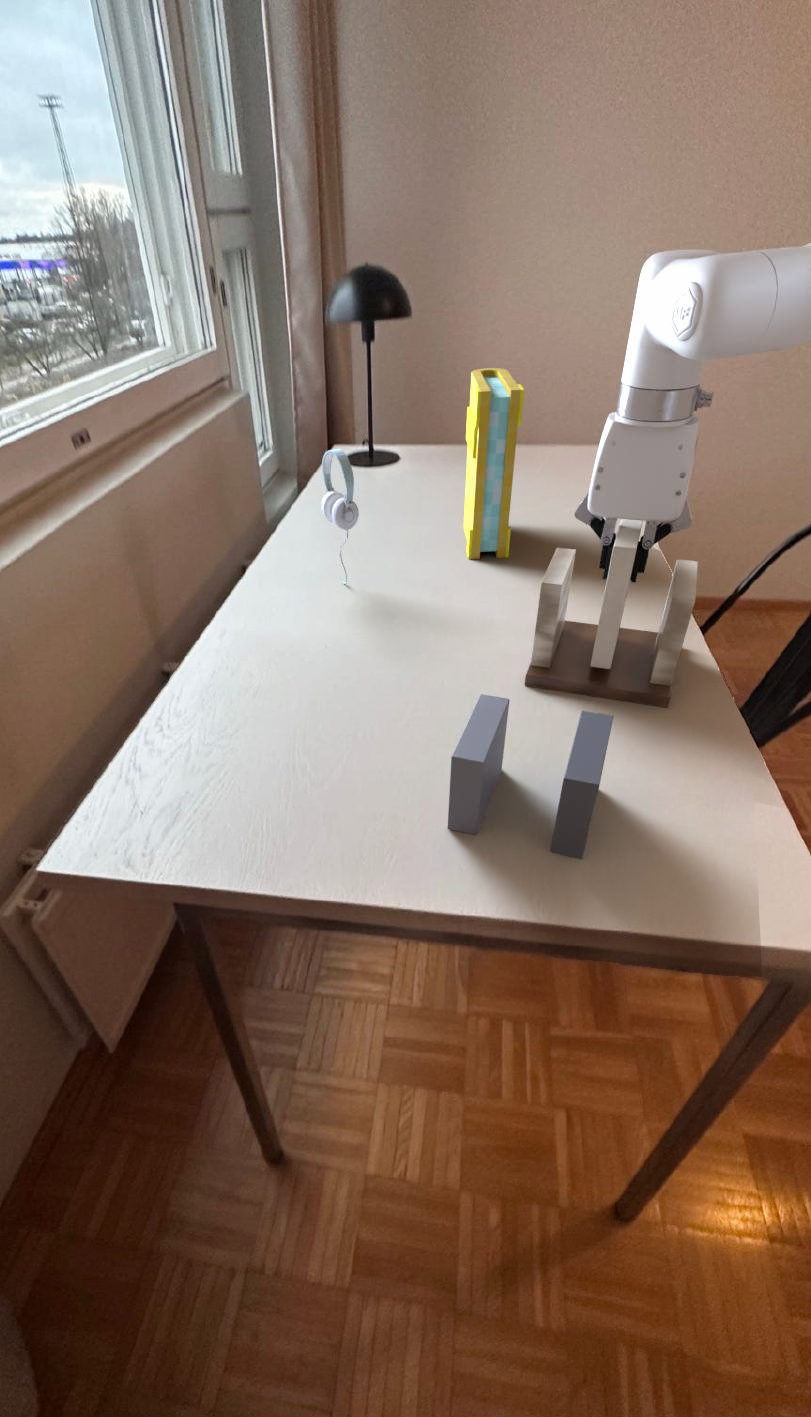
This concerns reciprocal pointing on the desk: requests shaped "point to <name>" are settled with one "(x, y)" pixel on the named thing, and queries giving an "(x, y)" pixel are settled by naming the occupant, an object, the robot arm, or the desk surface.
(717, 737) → the desk surface
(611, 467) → the robot arm
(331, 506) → the headphones
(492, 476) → the book
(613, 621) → the thin book
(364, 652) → the desk surface
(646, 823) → the desk surface
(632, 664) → the letter rack
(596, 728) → the grey books
